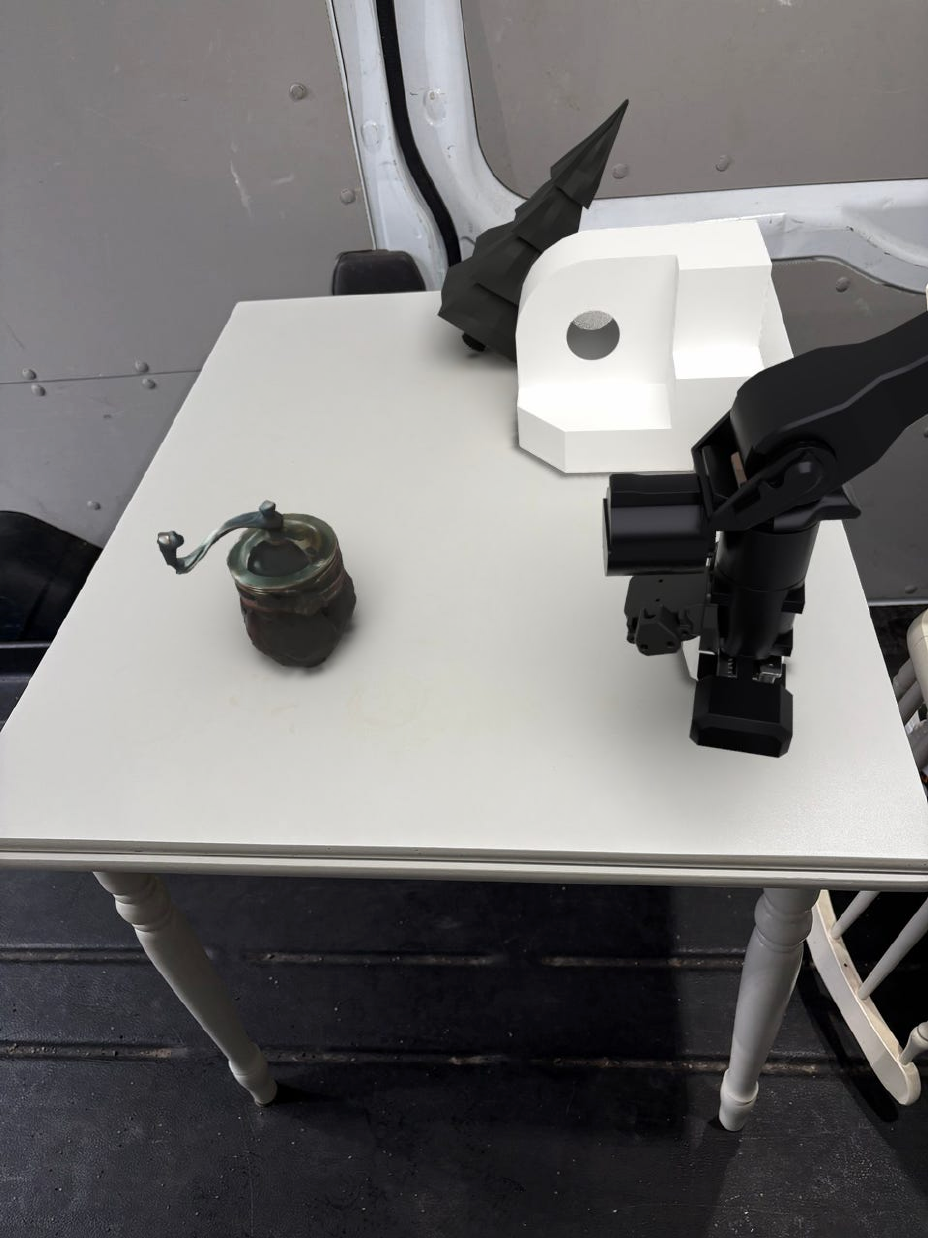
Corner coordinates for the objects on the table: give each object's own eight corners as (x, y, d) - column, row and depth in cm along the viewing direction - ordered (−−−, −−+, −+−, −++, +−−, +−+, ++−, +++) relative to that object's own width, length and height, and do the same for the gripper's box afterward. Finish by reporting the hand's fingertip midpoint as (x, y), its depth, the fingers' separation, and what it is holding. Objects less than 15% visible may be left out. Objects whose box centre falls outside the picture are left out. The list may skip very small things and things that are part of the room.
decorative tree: (515, 395, 115) (686, 157, 92) (421, 341, 110) (575, 77, 87) (519, 342, 125) (673, 116, 102) (432, 291, 120) (573, 43, 97)
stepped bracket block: (516, 474, 97) (505, 303, 82) (524, 395, 108) (515, 234, 94) (750, 469, 93) (781, 289, 78) (731, 388, 105) (756, 219, 90)
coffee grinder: (196, 662, 81) (124, 516, 68) (315, 579, 87) (269, 432, 75) (274, 730, 74) (210, 583, 61) (396, 635, 81) (361, 484, 68)
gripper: (652, 468, 63) (640, 615, 74) (616, 648, 50) (608, 792, 61) (810, 480, 60) (773, 631, 71) (813, 675, 47) (768, 820, 58)
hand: (729, 710), depth 65 cm, fingers closed
